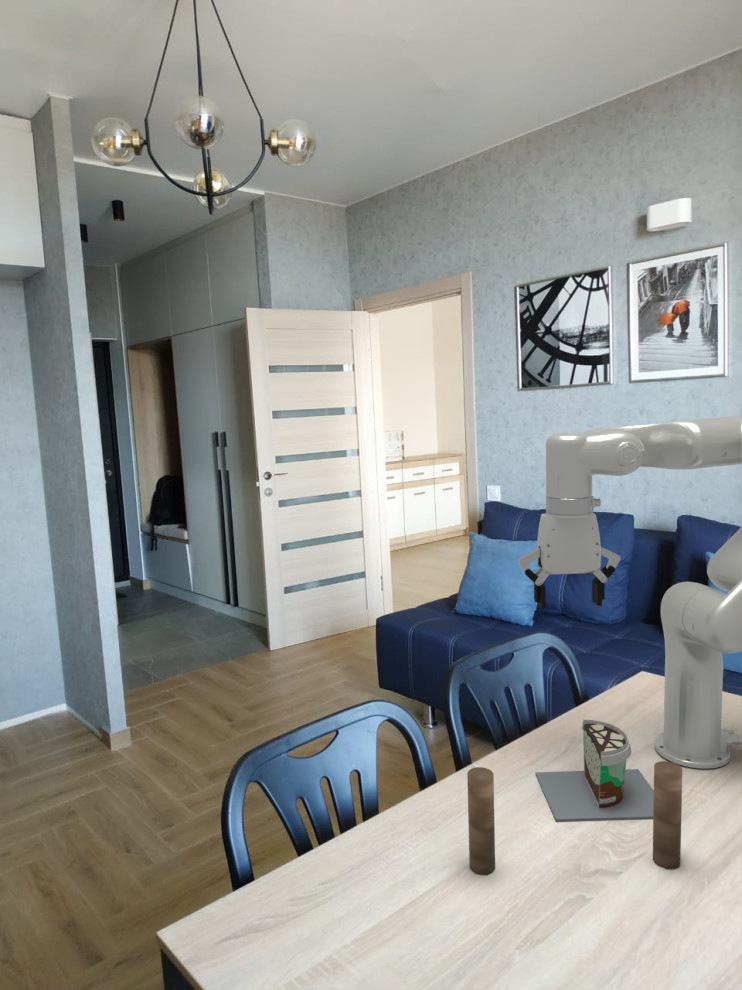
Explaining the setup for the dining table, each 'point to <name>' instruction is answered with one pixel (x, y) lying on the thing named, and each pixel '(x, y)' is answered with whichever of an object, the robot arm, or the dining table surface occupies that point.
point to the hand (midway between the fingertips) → (569, 604)
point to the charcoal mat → (578, 804)
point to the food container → (605, 761)
